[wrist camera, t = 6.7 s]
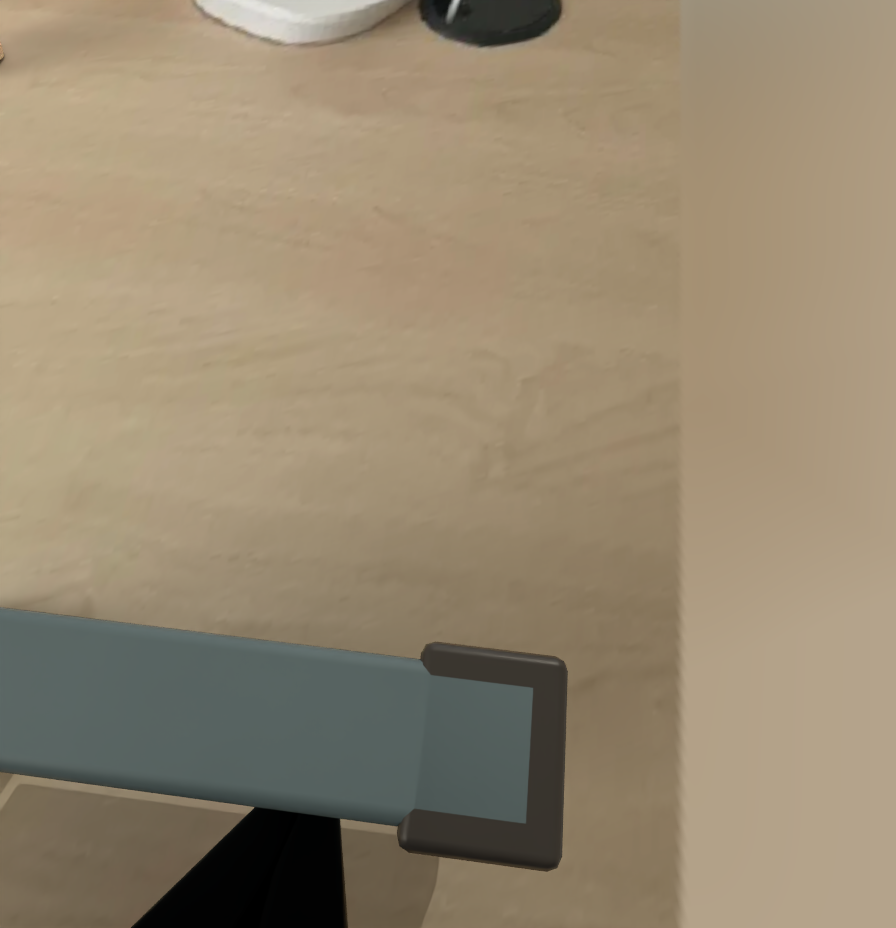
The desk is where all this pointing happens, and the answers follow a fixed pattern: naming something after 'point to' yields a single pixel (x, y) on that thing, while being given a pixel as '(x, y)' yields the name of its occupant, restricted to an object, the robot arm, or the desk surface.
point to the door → (297, 729)
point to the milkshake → (1, 52)
